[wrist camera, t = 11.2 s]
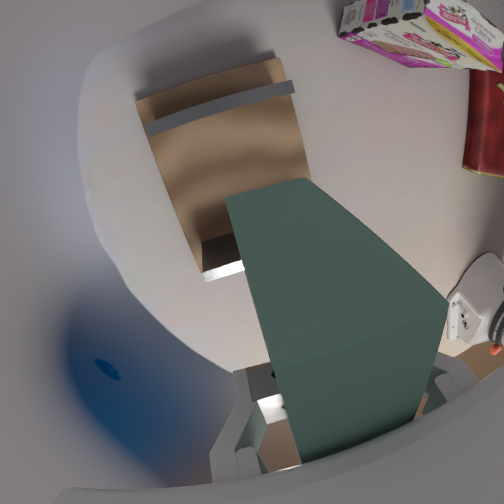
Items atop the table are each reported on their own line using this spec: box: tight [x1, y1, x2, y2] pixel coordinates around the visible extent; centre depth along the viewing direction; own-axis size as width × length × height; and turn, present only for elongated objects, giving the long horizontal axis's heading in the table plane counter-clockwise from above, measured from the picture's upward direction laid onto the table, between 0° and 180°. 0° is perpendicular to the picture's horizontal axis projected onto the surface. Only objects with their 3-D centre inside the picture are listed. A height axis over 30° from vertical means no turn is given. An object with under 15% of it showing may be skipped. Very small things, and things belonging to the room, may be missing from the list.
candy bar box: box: [338, 0, 504, 73], centre depth 22 cm, size 11×5×16 cm, turn 79°
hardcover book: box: [462, 55, 504, 178], centre depth 34 cm, size 12×21×4 cm, turn 179°
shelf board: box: [135, 58, 312, 273], centre depth 34 cm, size 22×16×2 cm
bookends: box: [145, 80, 295, 282], centre depth 30 cm, size 16×13×7 cm
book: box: [225, 177, 450, 464], centre depth 12 cm, size 4×11×9 cm, turn 13°
